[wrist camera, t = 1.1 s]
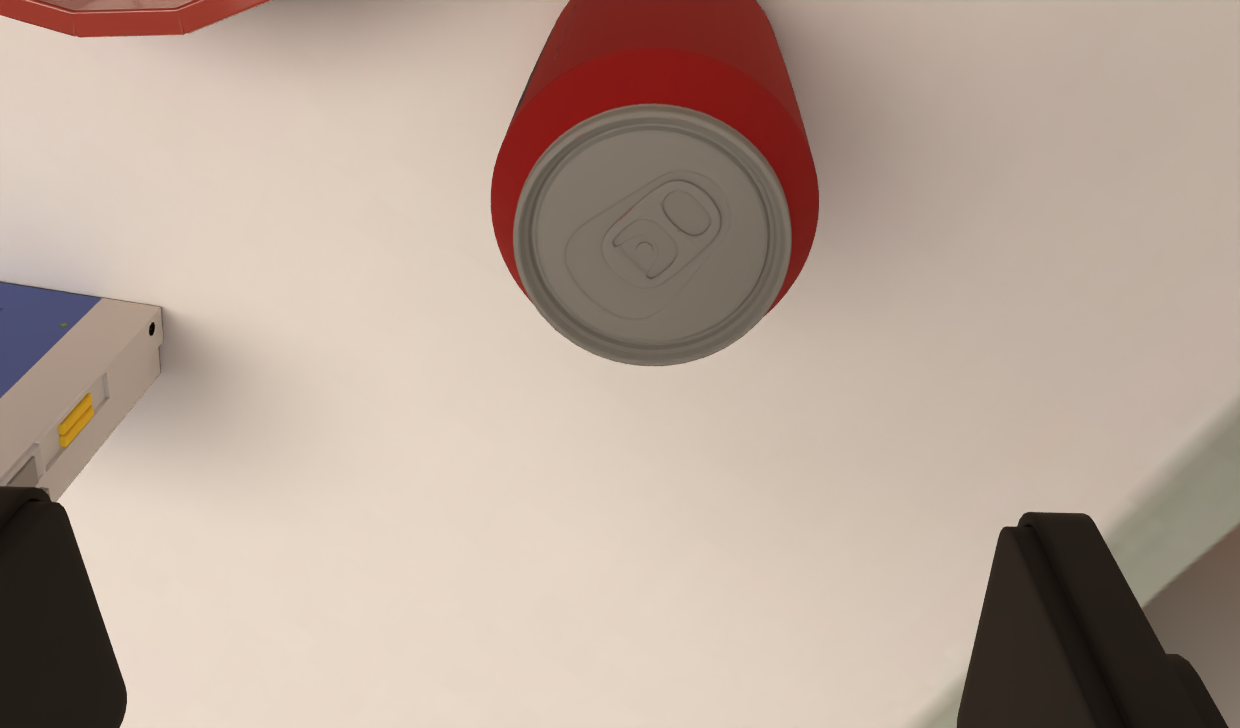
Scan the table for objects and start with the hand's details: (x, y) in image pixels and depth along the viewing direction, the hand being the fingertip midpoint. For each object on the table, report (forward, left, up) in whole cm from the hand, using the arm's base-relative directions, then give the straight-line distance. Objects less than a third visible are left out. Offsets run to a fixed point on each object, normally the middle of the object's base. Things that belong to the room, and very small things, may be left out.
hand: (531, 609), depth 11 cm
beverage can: (+1, +1, -23) cm, 23 cm away
